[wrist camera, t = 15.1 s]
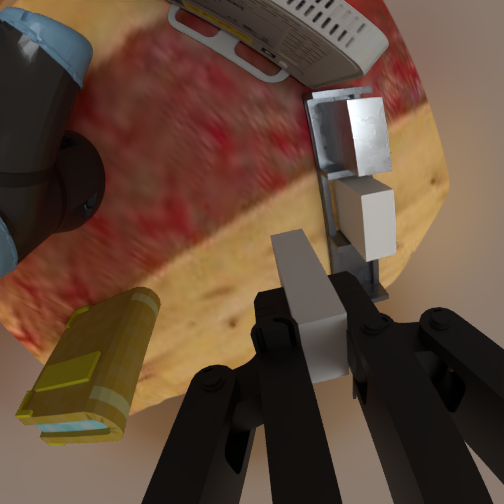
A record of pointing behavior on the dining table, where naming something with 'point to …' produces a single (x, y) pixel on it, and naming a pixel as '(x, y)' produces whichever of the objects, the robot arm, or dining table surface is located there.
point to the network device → (291, 36)
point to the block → (366, 215)
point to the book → (93, 371)
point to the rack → (347, 166)
